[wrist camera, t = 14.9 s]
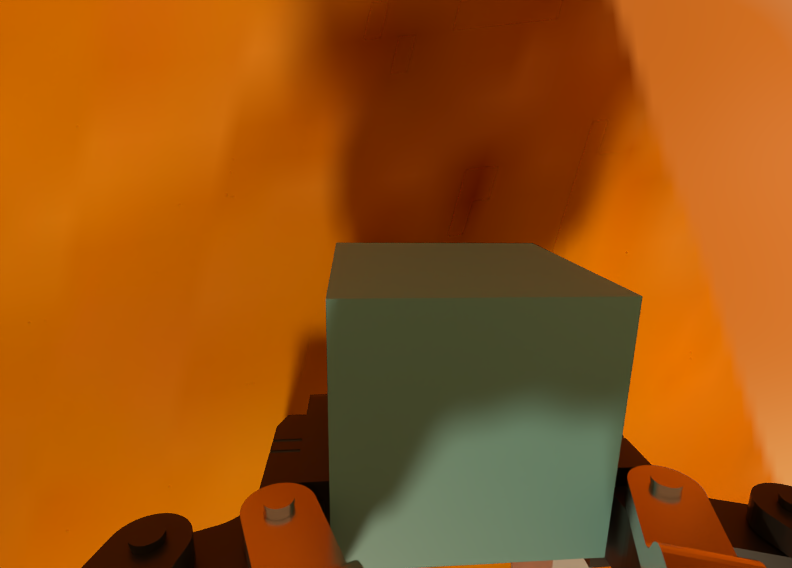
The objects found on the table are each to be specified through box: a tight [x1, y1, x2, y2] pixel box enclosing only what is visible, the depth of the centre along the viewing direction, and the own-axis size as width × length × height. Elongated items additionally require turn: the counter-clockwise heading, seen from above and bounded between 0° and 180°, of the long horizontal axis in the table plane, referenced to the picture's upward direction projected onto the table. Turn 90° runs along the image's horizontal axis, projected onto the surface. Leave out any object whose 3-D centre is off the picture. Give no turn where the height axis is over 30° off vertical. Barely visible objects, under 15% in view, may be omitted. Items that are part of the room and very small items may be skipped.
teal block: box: [326, 243, 642, 568], centre depth 11 cm, size 5×5×5 cm
